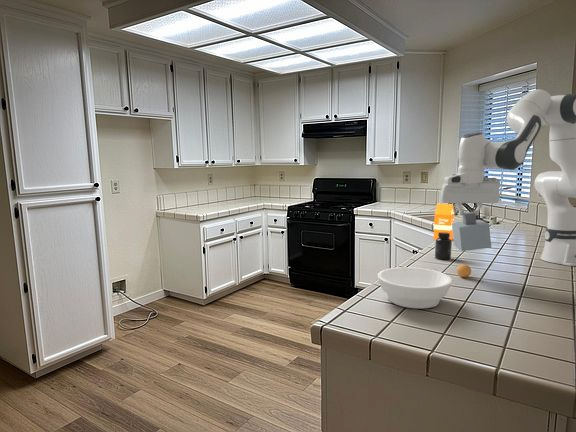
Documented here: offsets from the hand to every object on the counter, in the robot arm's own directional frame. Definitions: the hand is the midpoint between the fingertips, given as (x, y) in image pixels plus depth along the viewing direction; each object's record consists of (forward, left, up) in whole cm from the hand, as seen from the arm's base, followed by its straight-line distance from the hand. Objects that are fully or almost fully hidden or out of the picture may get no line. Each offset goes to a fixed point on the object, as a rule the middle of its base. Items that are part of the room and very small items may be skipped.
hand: (468, 215), depth 147 cm
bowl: (+24, +28, -24) cm, 44 cm away
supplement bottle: (+1, -30, -24) cm, 39 cm away
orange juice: (-10, -76, -24) cm, 80 cm away
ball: (0, -1, -22) cm, 22 cm away
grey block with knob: (-2, 0, -12) cm, 12 cm away
